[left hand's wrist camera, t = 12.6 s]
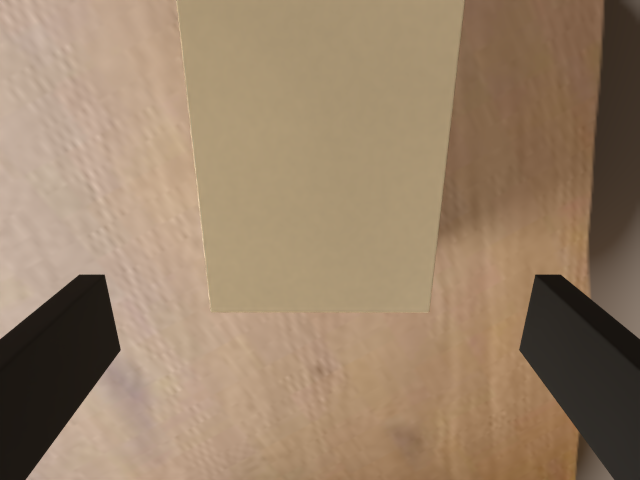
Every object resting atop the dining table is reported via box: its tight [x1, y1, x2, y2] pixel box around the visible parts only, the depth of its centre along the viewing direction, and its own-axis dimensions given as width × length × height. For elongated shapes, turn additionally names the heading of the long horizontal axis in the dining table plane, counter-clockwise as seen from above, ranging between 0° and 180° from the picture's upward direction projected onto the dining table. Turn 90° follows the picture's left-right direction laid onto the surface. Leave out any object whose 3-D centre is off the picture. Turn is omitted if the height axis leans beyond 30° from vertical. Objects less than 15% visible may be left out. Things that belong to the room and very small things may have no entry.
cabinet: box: [176, 0, 465, 313], centre depth 21 cm, size 19×11×8 cm, turn 0°
